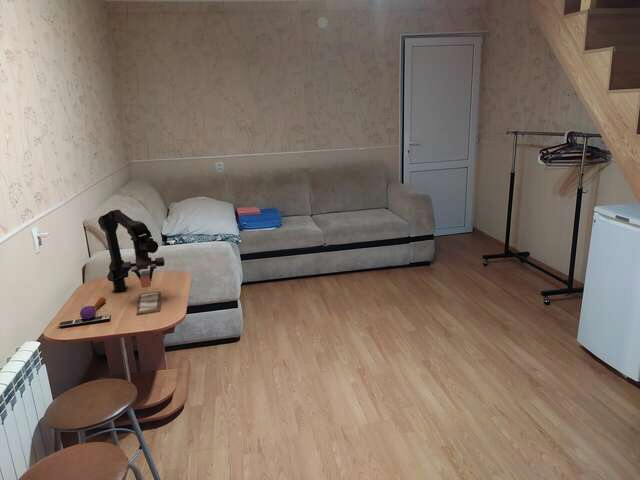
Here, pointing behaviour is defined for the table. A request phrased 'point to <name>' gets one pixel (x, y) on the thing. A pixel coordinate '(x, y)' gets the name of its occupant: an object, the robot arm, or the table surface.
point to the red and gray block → (145, 279)
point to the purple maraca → (91, 309)
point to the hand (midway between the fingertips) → (146, 281)
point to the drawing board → (149, 303)
